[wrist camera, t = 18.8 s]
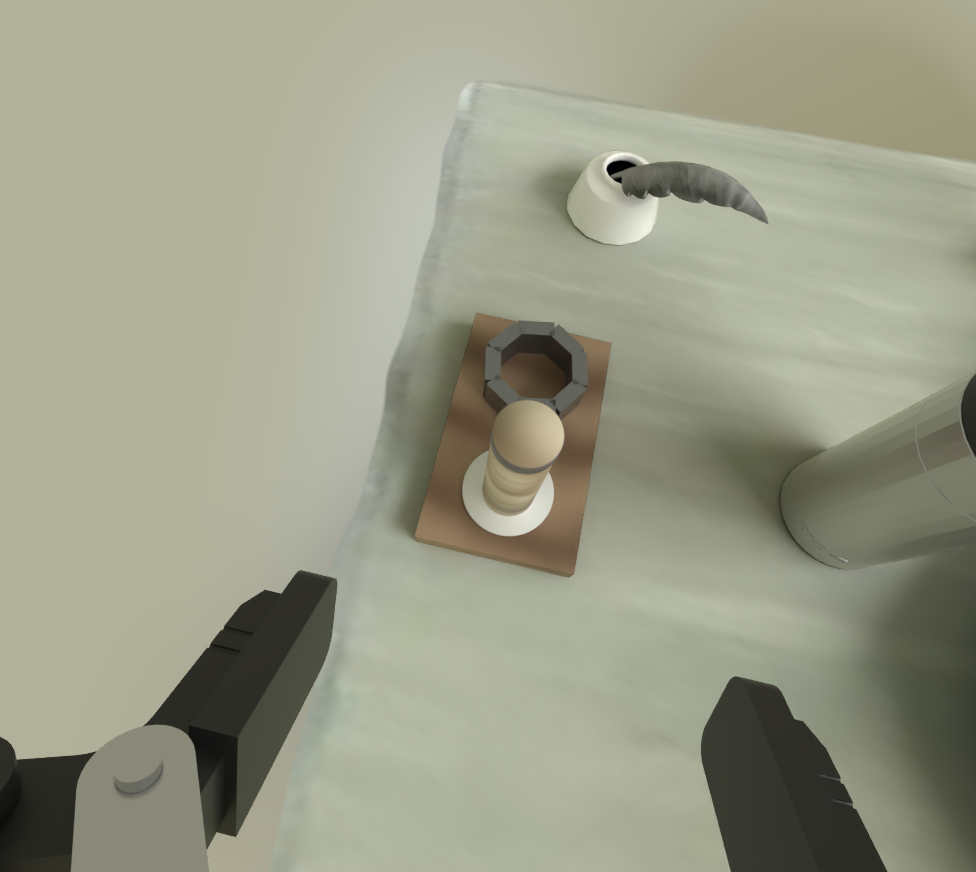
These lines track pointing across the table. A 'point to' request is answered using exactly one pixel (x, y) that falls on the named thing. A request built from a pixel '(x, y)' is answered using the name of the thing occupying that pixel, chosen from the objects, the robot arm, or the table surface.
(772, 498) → the table surface
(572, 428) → the walnut board
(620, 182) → the inkwell
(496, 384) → the ring
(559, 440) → the wooden peg
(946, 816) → the table surface
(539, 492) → the rest disc
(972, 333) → the table surface
